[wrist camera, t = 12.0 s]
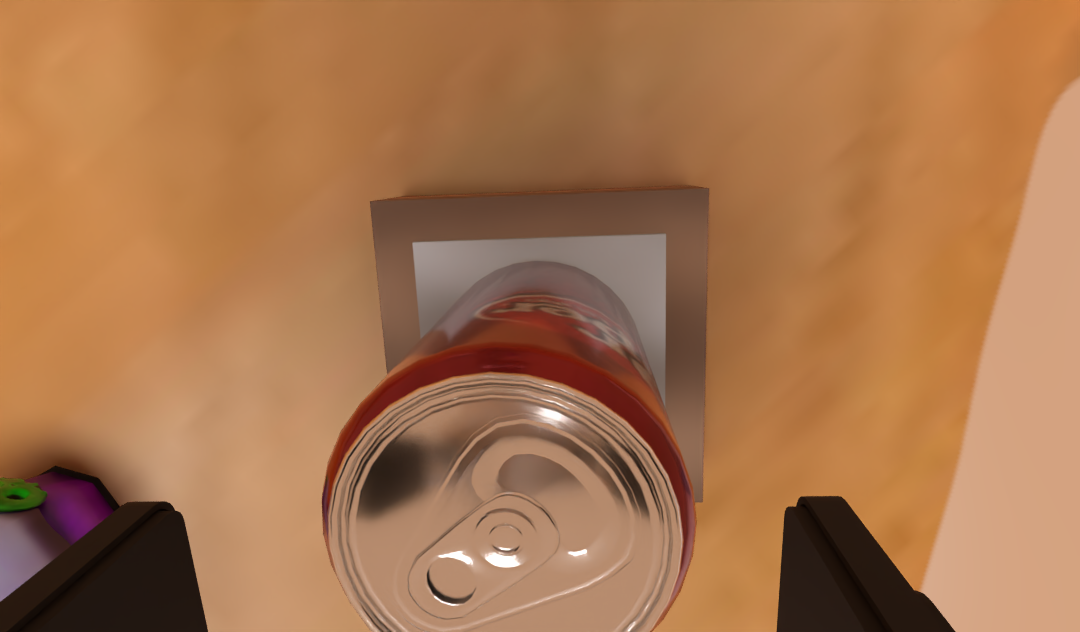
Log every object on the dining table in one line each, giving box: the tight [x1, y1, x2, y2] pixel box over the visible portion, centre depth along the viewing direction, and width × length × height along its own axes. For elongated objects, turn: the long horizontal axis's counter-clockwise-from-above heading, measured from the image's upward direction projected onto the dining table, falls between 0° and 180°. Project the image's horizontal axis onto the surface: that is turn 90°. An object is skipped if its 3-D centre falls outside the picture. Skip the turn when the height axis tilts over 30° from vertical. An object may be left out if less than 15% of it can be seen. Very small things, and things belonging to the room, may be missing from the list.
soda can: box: [322, 261, 697, 632], centre depth 17 cm, size 7×7×12 cm
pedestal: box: [370, 186, 709, 502], centre depth 25 cm, size 12×12×4 cm
